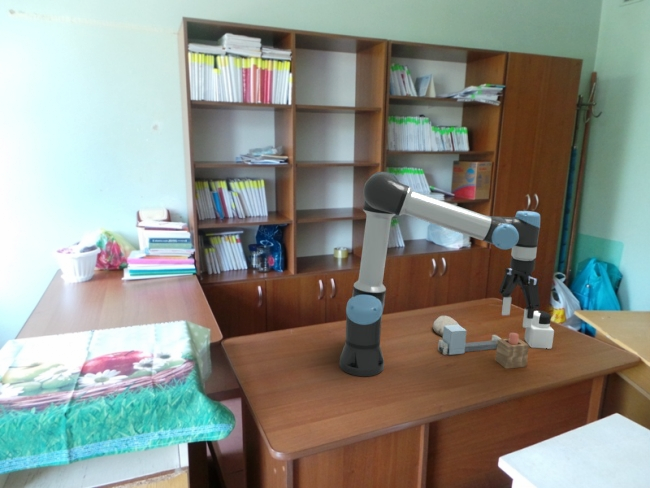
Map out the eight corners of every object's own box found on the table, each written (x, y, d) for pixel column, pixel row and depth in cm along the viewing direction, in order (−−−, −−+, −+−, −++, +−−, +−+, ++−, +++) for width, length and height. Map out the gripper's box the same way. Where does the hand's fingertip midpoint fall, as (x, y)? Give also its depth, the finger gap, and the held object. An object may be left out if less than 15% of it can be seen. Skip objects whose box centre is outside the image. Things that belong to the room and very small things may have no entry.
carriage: (449, 354, 161) (451, 331, 159) (441, 348, 167) (443, 325, 165) (464, 353, 163) (466, 330, 161) (456, 346, 168) (458, 324, 166)
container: (544, 340, 176) (548, 309, 173) (551, 349, 169) (556, 316, 166) (523, 339, 177) (527, 308, 174) (530, 347, 169) (535, 315, 167)
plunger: (510, 358, 154) (513, 336, 152) (505, 354, 157) (507, 332, 155) (518, 357, 154) (520, 335, 153) (512, 353, 157) (515, 332, 156)
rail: (443, 354, 162) (444, 344, 161) (438, 349, 165) (438, 339, 165) (501, 349, 168) (502, 339, 167) (494, 344, 171) (495, 334, 170)
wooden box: (506, 368, 152) (508, 346, 151) (495, 360, 158) (497, 339, 156) (526, 366, 154) (528, 345, 153) (514, 358, 160) (517, 337, 158)
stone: (452, 348, 178) (465, 334, 175) (432, 334, 177) (446, 320, 174) (446, 332, 190) (459, 319, 188) (428, 319, 189) (441, 306, 187)
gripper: (558, 266, 138) (549, 333, 143) (510, 250, 160) (504, 308, 165) (537, 267, 136) (529, 334, 141) (492, 250, 158) (486, 309, 163)
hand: (515, 320), depth 153 cm, fingers open, 10 cm apart
